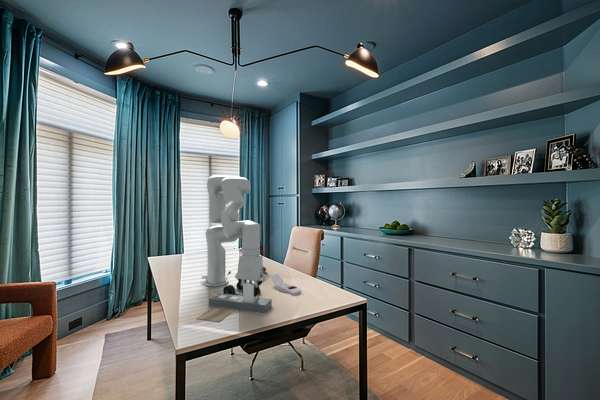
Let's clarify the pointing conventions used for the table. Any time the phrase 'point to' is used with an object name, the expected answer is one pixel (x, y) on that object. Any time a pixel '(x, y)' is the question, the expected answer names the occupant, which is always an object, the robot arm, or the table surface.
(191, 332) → the table surface
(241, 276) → the robot arm
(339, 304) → the table surface
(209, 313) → the coaster
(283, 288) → the light grey elongated piece
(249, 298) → the charger
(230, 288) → the headset
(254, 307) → the power strip
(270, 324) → the table surface
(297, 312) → the table surface
